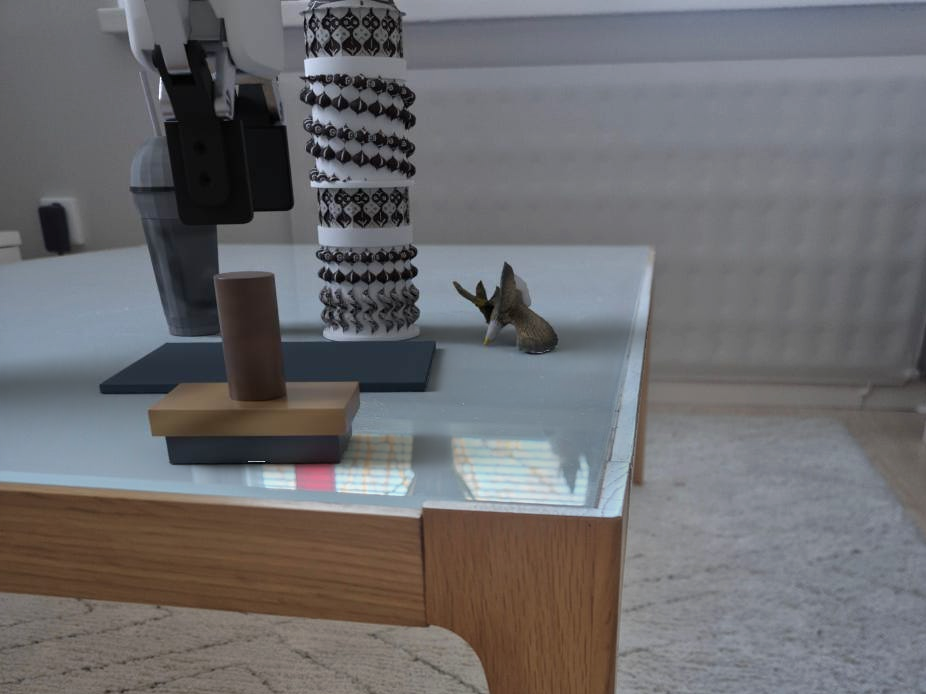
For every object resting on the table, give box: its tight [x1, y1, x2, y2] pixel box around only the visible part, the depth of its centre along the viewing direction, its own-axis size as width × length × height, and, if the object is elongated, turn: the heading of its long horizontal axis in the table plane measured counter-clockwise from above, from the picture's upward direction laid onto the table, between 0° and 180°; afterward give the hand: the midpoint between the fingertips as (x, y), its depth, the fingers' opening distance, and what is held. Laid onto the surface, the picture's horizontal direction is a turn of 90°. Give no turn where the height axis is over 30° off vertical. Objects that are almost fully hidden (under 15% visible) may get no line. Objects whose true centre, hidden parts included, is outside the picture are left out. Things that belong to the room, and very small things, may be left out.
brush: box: [147, 270, 361, 465], centre depth 49 cm, size 10×6×9 cm, turn 90°
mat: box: [98, 340, 437, 394], centre depth 70 cm, size 22×15×1 cm
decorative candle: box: [297, 0, 421, 341], centre depth 76 cm, size 9×9×25 cm
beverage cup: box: [129, 70, 221, 337], centre depth 80 cm, size 7×7×20 cm
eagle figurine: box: [452, 261, 559, 354], centre depth 76 cm, size 8×7×9 cm
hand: (243, 217), depth 46 cm, fingers open, 9 cm apart
